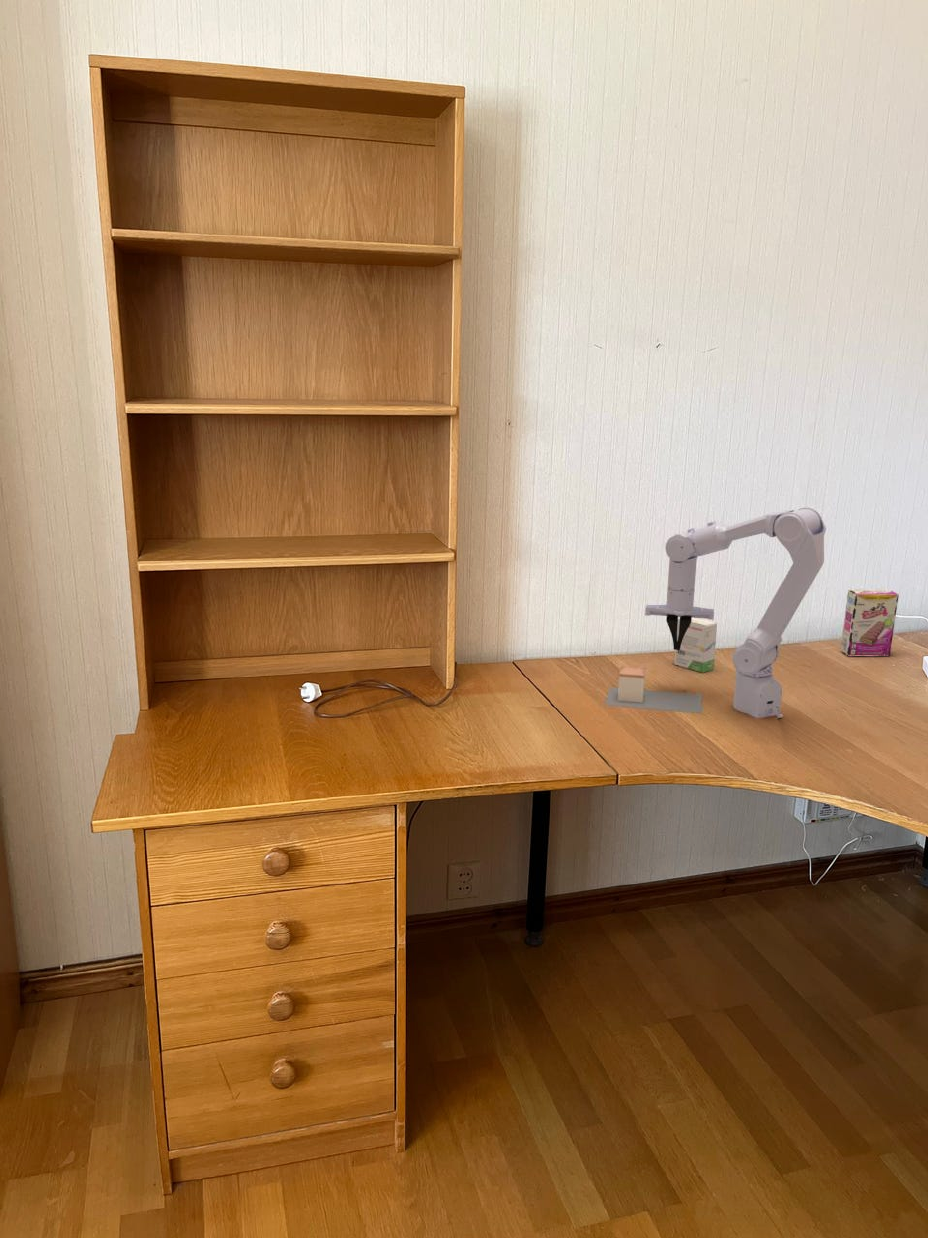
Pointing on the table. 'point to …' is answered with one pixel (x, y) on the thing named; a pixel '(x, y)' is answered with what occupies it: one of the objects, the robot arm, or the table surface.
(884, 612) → the candy bar box
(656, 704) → the board
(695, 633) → the ink box
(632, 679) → the peach bevelled cube
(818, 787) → the table surface
